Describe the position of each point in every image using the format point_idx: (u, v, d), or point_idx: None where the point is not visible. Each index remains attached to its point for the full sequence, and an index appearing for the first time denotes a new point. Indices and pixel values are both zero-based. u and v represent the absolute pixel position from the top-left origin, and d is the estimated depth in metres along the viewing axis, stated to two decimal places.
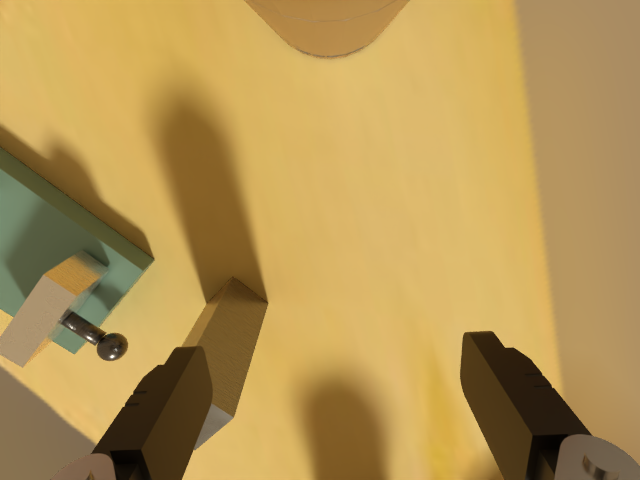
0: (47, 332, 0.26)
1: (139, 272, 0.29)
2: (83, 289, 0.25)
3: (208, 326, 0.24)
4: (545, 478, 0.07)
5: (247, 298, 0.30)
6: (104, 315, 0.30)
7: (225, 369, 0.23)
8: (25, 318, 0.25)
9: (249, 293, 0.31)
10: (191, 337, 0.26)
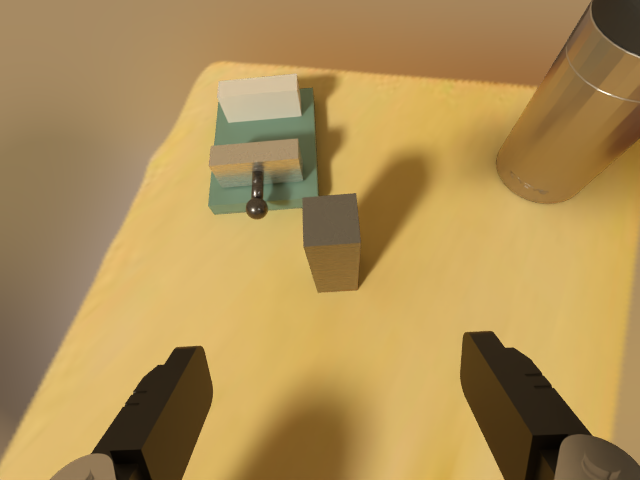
0: (254, 161, 0.35)
1: (314, 196, 0.38)
2: (299, 163, 0.35)
3: None
4: (545, 478, 0.07)
5: None
6: None
7: None
8: (255, 147, 0.36)
9: None
10: None
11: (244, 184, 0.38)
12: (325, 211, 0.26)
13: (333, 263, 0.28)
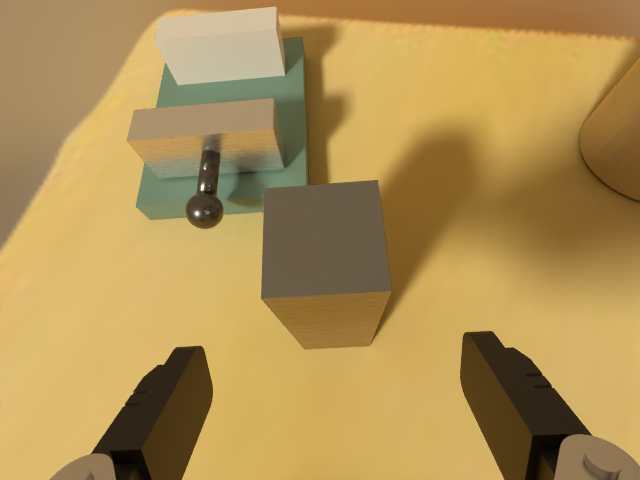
0: (200, 133, 0.21)
1: None
2: (275, 137, 0.22)
3: None
4: (545, 478, 0.07)
5: None
6: None
7: None
8: (204, 111, 0.22)
9: None
10: None
11: (192, 173, 0.25)
12: (312, 217, 0.12)
13: (328, 319, 0.14)
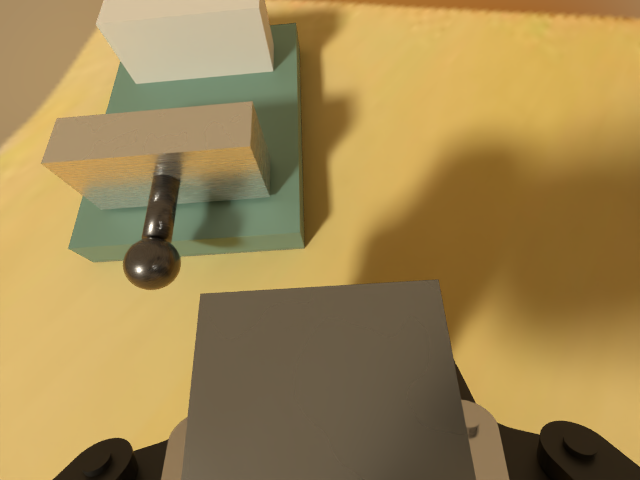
0: (146, 153, 0.15)
1: (293, 230, 0.18)
2: (254, 157, 0.15)
3: None
4: None
5: None
6: (179, 238, 0.18)
7: None
8: (154, 120, 0.15)
9: None
10: None
11: (146, 203, 0.18)
12: (299, 370, 0.05)
13: None
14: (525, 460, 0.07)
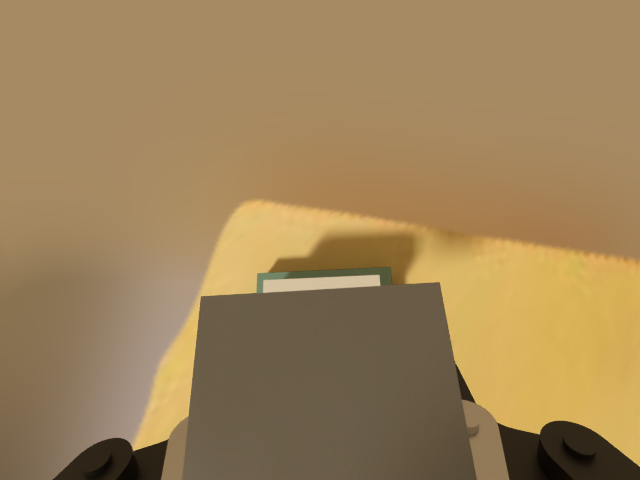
0: None
1: None
2: None
3: None
4: None
5: None
6: None
7: None
8: None
9: None
10: None
11: None
12: (299, 373, 0.05)
13: None
14: (525, 460, 0.07)
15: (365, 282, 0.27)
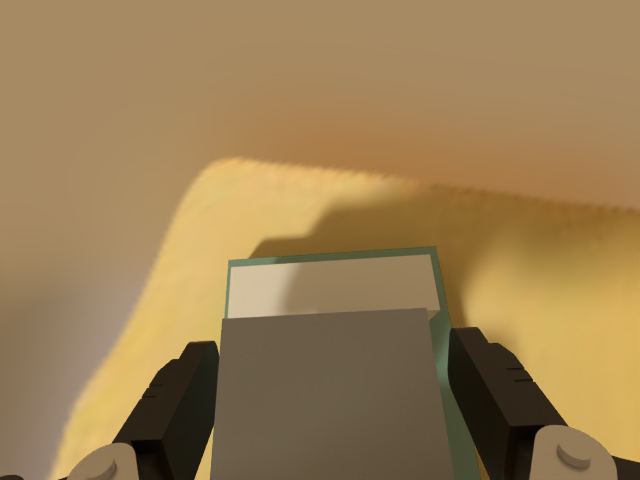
0: None
1: None
2: None
3: None
4: (522, 467, 0.07)
5: None
6: None
7: None
8: None
9: None
10: None
11: None
12: (307, 386, 0.06)
13: None
14: None
15: (406, 267, 0.15)
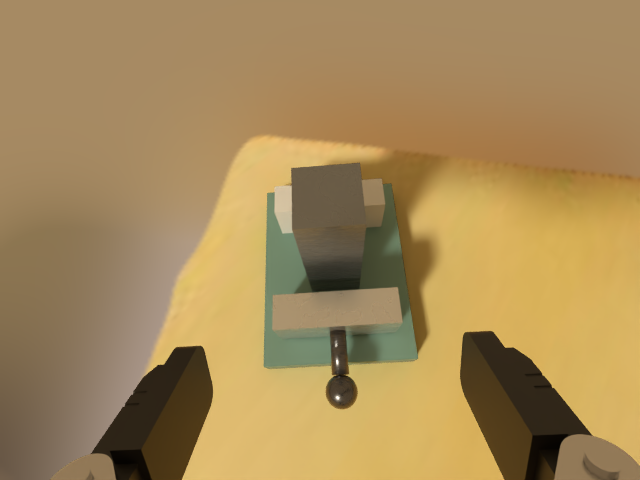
0: (338, 324, 0.24)
1: (413, 357, 0.27)
2: (400, 323, 0.25)
3: None
4: (545, 478, 0.07)
5: None
6: None
7: None
8: (337, 299, 0.25)
9: None
10: None
11: (313, 336, 0.28)
12: (320, 184, 0.20)
13: (330, 252, 0.22)
14: None
15: (369, 185, 0.29)
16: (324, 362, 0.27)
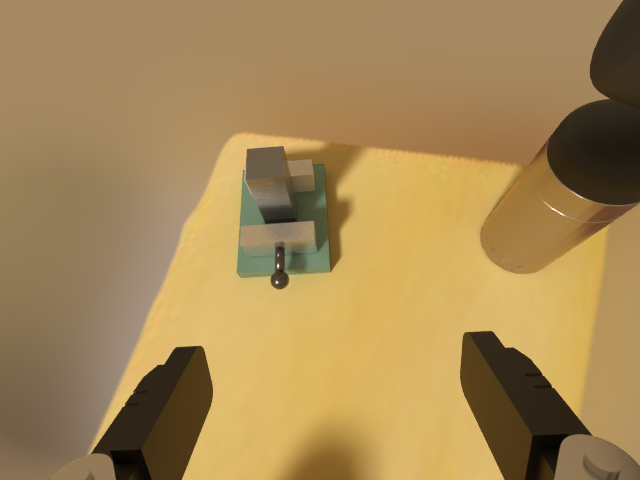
0: (277, 241, 0.42)
1: (327, 266, 0.45)
2: (315, 241, 0.43)
3: (290, 174, 0.43)
4: (545, 478, 0.07)
5: (296, 210, 0.47)
6: None
7: (287, 179, 0.40)
8: (278, 227, 0.43)
9: (297, 213, 0.48)
10: None
11: (267, 254, 0.45)
12: (261, 157, 0.38)
13: (270, 196, 0.40)
14: None
15: (303, 163, 0.47)
16: (273, 269, 0.45)
